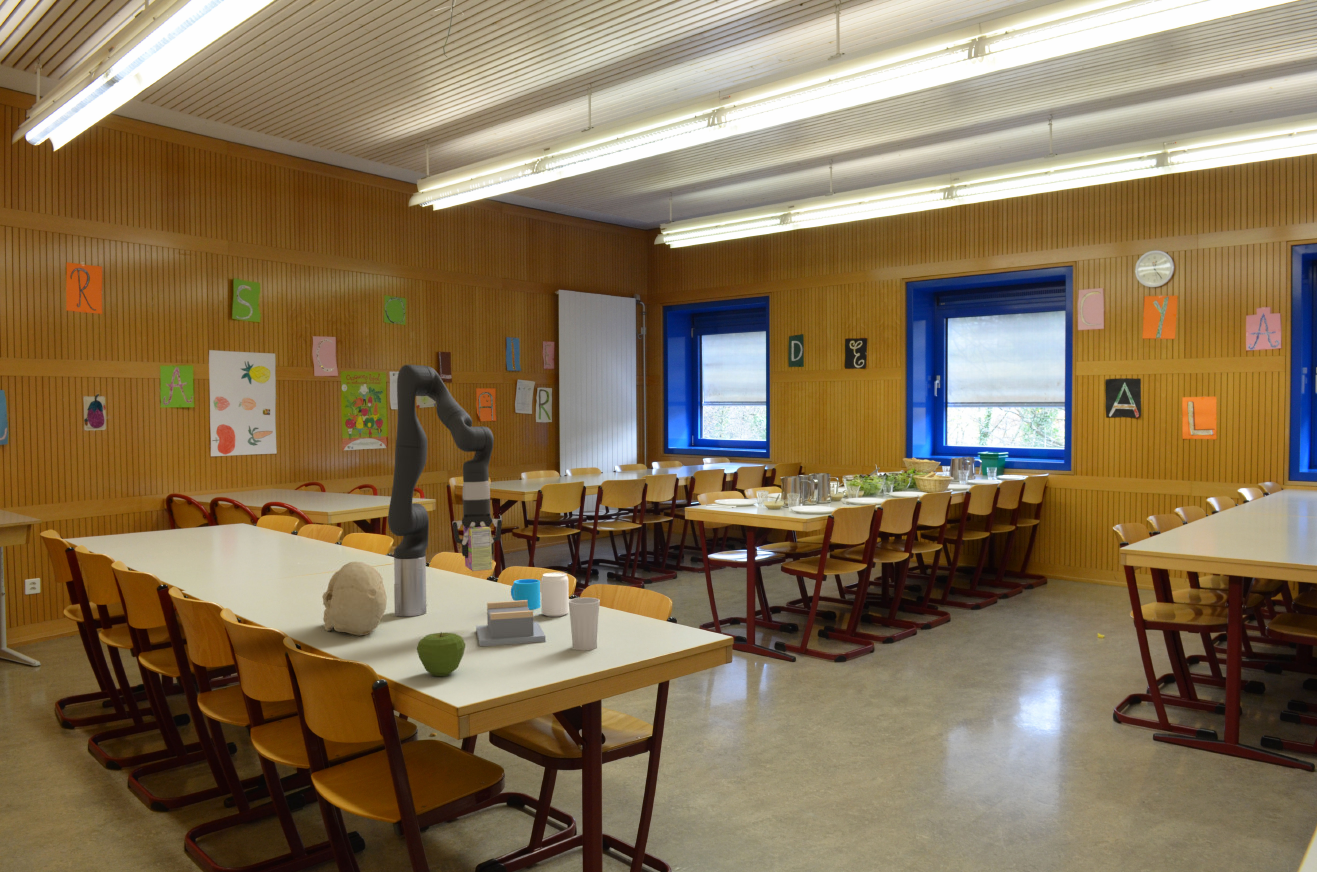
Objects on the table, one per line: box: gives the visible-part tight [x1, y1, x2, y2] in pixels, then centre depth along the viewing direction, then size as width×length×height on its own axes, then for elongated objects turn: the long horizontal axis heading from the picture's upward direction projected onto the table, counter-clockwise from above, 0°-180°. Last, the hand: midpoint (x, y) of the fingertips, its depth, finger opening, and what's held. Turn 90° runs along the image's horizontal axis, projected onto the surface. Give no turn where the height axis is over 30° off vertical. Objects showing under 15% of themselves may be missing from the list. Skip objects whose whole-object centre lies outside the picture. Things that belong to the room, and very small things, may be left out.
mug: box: [510, 578, 541, 611], centre depth 276 cm, size 12×8×8 cm
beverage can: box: [540, 571, 570, 617], centre depth 265 cm, size 8×8×12 cm
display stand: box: [475, 600, 547, 647], centre depth 239 cm, size 17×17×8 cm
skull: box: [322, 561, 388, 636], centre depth 247 cm, size 15×26×20 cm, turn 44°
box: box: [463, 526, 493, 572], centre depth 248 cm, size 10×6×12 cm, turn 23°
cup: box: [569, 597, 601, 651], centre depth 227 cm, size 8×8×12 cm
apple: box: [416, 631, 466, 677], centre depth 204 cm, size 11×10×10 cm
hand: (478, 556), depth 248 cm, fingers closed on box, 6 cm apart
